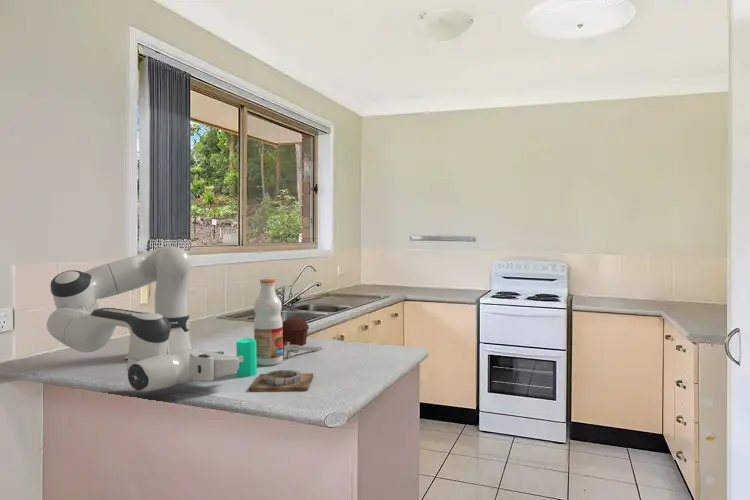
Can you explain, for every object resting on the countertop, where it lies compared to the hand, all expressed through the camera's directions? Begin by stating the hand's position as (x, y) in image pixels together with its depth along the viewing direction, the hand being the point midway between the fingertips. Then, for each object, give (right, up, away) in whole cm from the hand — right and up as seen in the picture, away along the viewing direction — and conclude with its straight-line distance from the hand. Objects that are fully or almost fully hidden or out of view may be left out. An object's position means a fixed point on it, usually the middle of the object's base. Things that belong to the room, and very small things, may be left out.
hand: (232, 355), depth 156 cm
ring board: (+16, -7, -6) cm, 19 cm away
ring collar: (+16, -7, -6) cm, 19 cm away
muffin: (+11, -5, +48) cm, 49 cm away
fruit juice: (+7, -6, +19) cm, 21 cm away
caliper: (+17, -6, +31) cm, 36 cm away
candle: (+3, -7, +5) cm, 9 cm away
